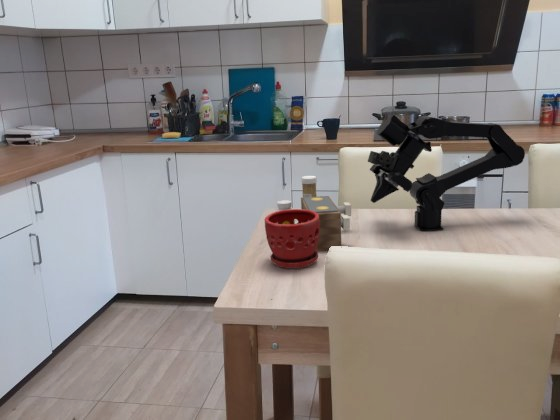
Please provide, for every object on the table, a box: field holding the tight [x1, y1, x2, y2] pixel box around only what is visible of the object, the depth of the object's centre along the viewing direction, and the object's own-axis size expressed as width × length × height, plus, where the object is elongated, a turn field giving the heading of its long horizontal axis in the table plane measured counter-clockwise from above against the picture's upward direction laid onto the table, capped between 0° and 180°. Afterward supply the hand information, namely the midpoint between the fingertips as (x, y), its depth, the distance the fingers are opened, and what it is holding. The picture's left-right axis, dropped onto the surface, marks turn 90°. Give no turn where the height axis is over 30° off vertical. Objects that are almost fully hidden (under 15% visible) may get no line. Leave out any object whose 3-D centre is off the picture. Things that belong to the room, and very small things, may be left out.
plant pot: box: [264, 208, 320, 269], centre depth 130 cm, size 13×13×12 cm
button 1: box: [335, 202, 352, 217], centre depth 152 cm, size 10×3×3 cm, turn 94°
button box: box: [300, 195, 342, 253], centre depth 146 cm, size 8×19×10 cm, turn 4°
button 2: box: [341, 214, 351, 231], centre depth 139 cm, size 10×3×3 cm, turn 94°
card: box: [302, 195, 338, 213], centre depth 145 cm, size 7×16×1 cm, turn 4°
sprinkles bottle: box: [301, 175, 318, 198], centre depth 167 cm, size 5×5×13 cm
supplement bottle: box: [275, 199, 296, 224], centre depth 152 cm, size 5×5×10 cm
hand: (372, 201), depth 149 cm, fingers closed
